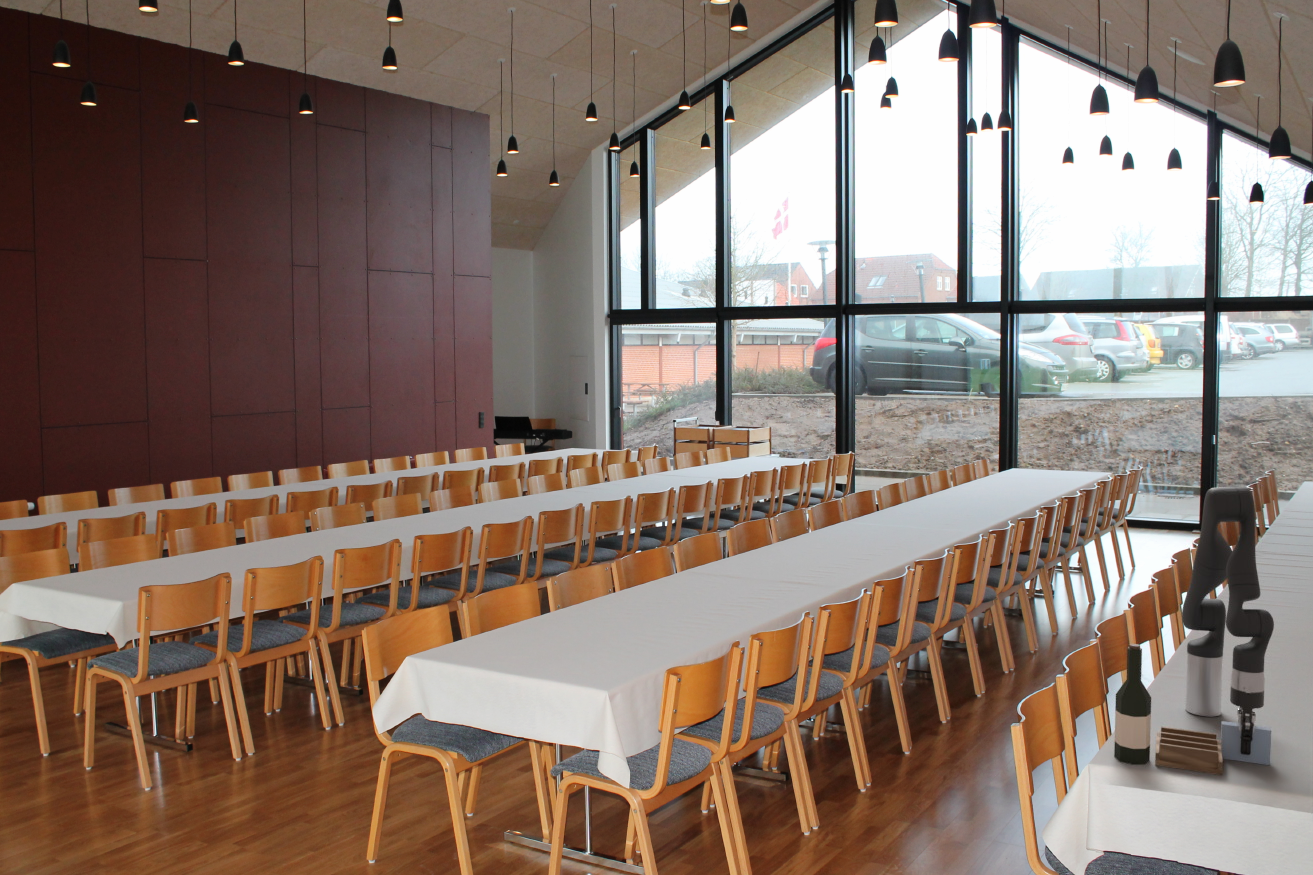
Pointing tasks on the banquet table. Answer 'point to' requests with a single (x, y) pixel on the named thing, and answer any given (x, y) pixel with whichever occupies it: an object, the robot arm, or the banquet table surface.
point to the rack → (1189, 750)
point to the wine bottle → (1133, 714)
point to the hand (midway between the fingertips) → (1245, 751)
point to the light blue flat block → (1233, 743)
